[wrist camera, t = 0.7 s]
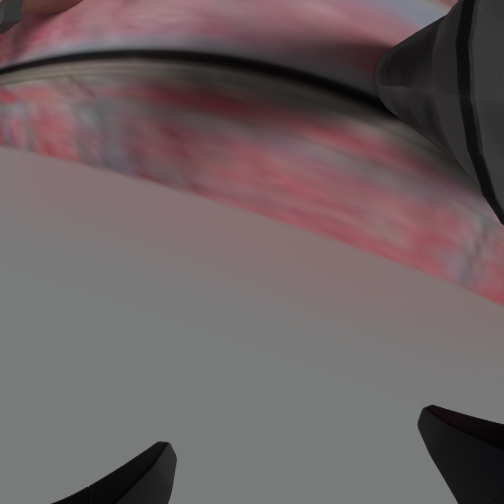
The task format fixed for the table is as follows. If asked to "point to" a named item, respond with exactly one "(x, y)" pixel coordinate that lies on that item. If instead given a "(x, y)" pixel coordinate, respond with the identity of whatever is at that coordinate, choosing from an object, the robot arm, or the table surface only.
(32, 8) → the cooker pot
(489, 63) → the beverage cup
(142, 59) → the table surface
